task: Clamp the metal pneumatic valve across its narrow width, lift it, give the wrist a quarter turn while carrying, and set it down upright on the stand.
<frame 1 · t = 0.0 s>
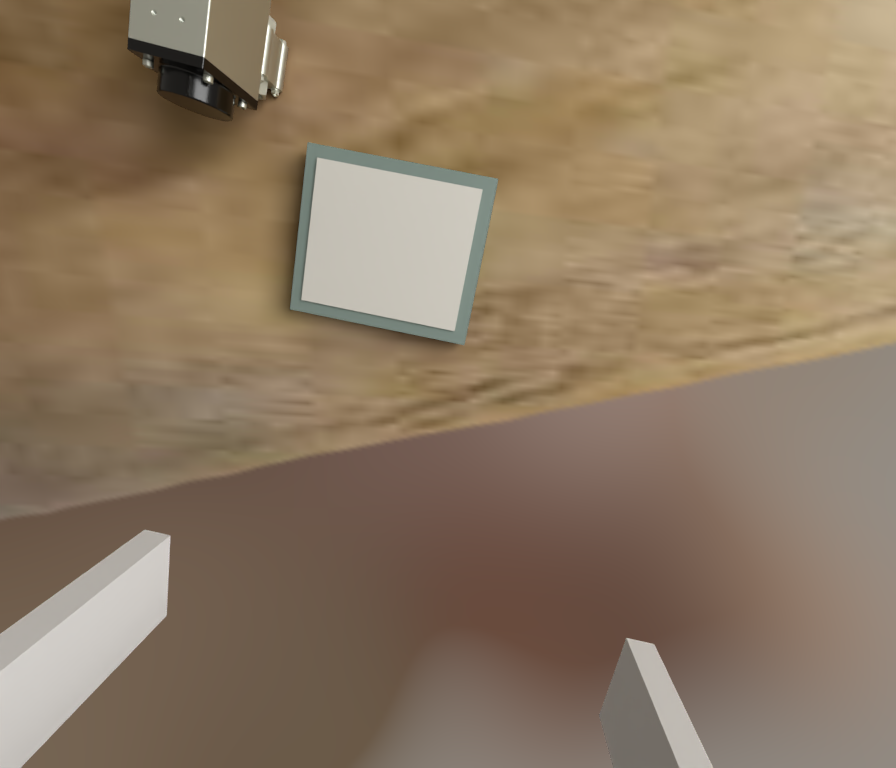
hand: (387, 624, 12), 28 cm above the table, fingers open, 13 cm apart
pneumatic valve: (263, 66, 35), on the table
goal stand: (394, 249, 37), on the table
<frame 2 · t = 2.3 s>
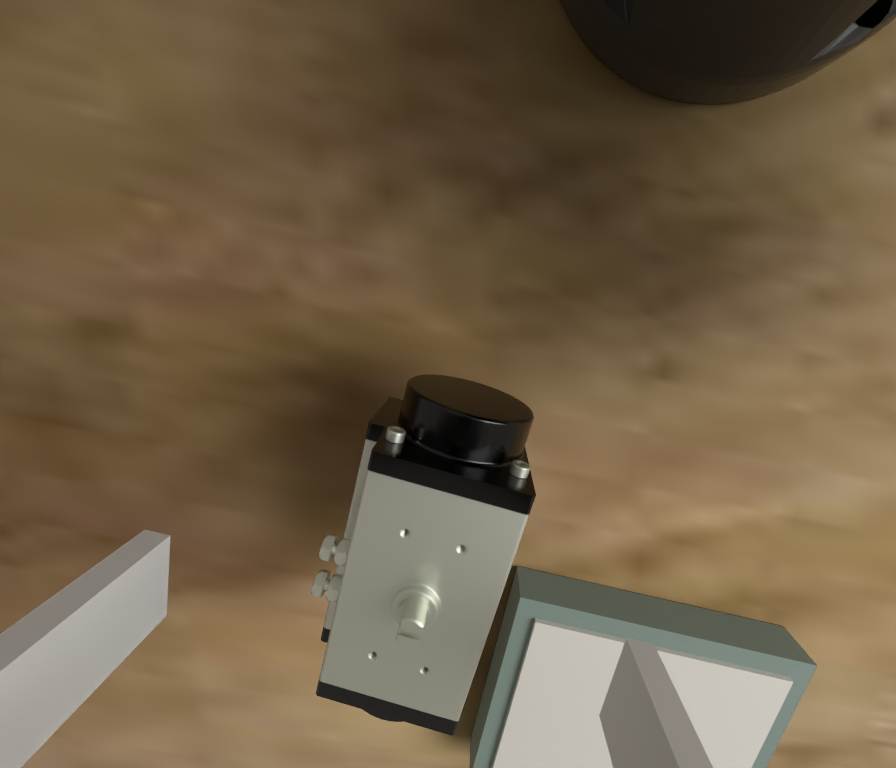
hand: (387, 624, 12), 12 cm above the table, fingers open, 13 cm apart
pneumatic valve: (441, 455, 24), on the table
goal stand: (615, 686, 26), on the table
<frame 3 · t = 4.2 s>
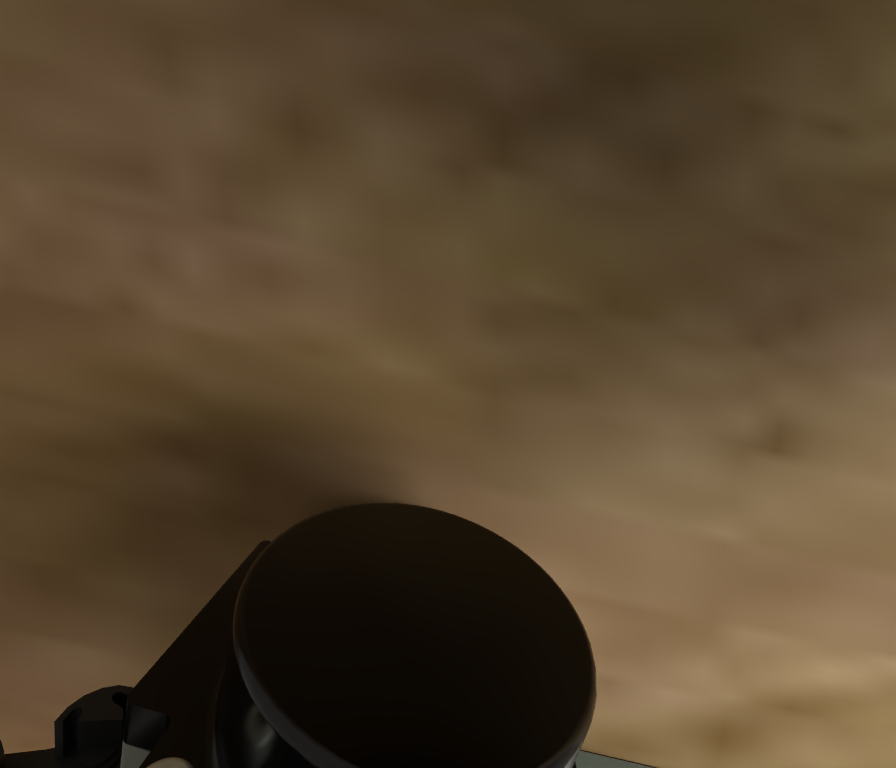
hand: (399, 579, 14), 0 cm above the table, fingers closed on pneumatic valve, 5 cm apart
pneumatic valve: (403, 569, 15), on the table, touching gripper
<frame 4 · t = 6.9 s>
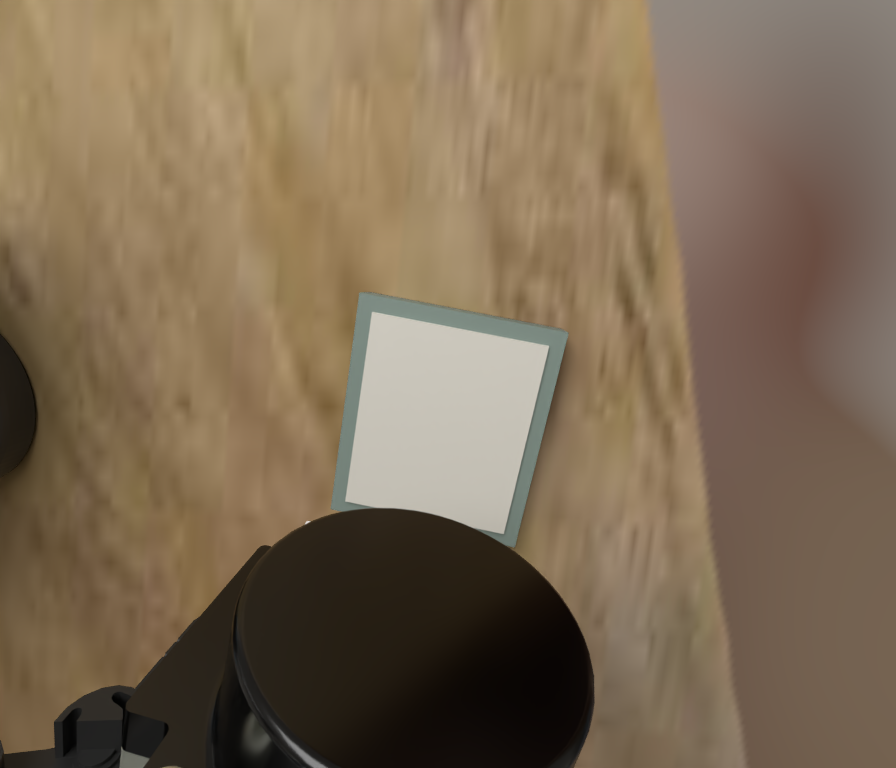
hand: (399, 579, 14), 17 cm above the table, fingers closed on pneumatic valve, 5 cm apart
pneumatic valve: (402, 572, 15), point 16 cm above the table, touching gripper
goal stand: (444, 415, 30), on the table
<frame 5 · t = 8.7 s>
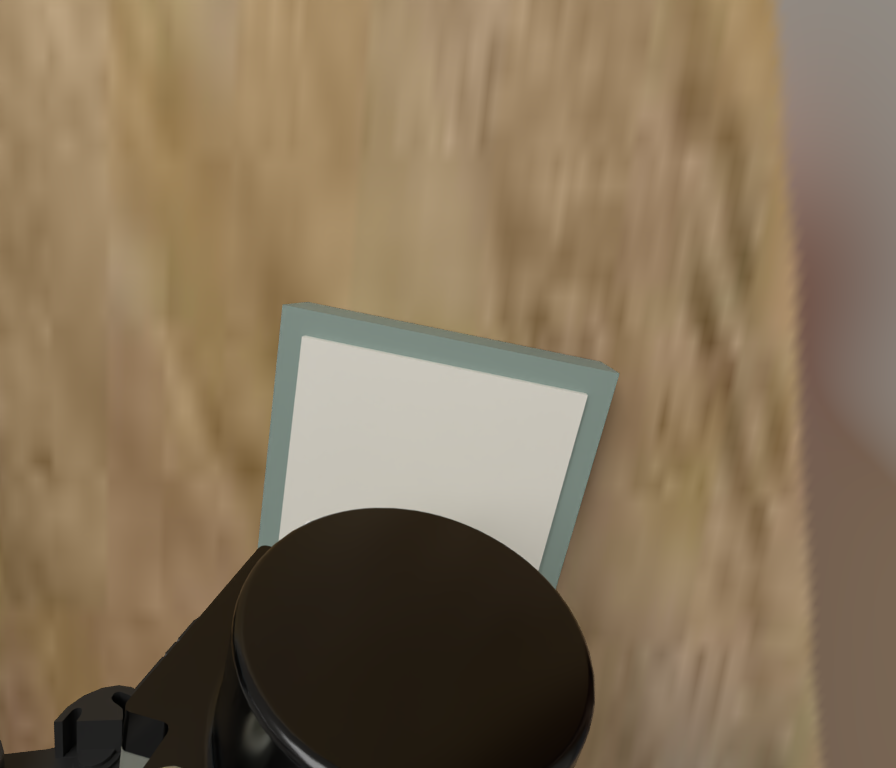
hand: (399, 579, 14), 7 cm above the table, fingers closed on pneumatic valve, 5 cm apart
pneumatic valve: (402, 572, 15), point 6 cm above the table, touching gripper
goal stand: (422, 486, 20), on the table
when the fingers open (4 cm above the table, at t = 9.9 s): pneumatic valve drops 1 cm, resting on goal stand.
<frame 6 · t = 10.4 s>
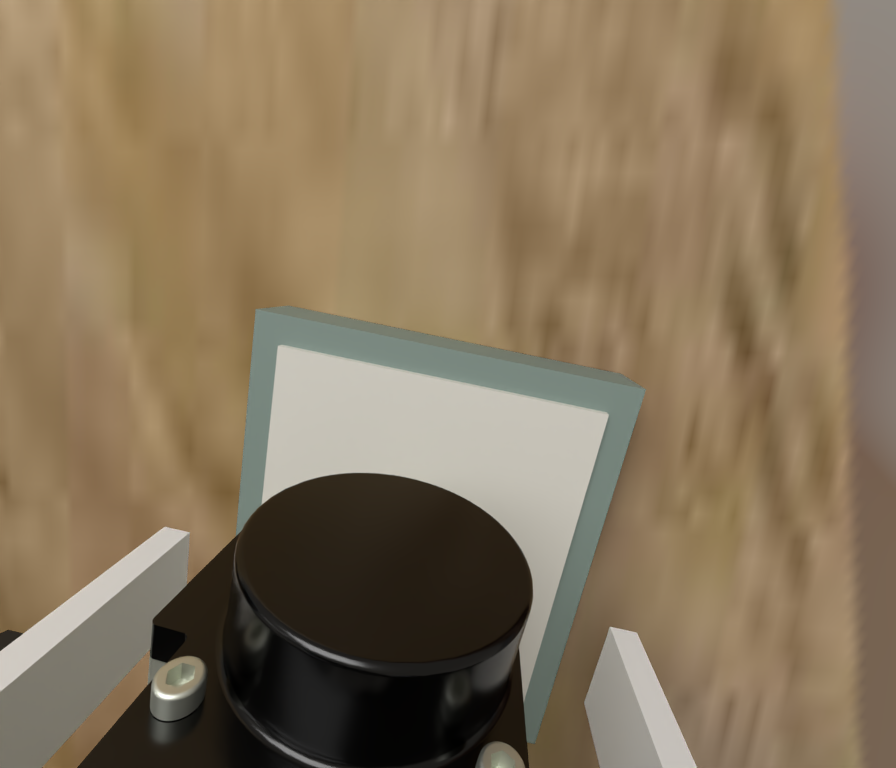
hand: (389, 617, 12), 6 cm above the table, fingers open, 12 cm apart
pneumatic valve: (398, 549, 16), point 3 cm above the table, touching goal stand
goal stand: (418, 512, 18), on the table
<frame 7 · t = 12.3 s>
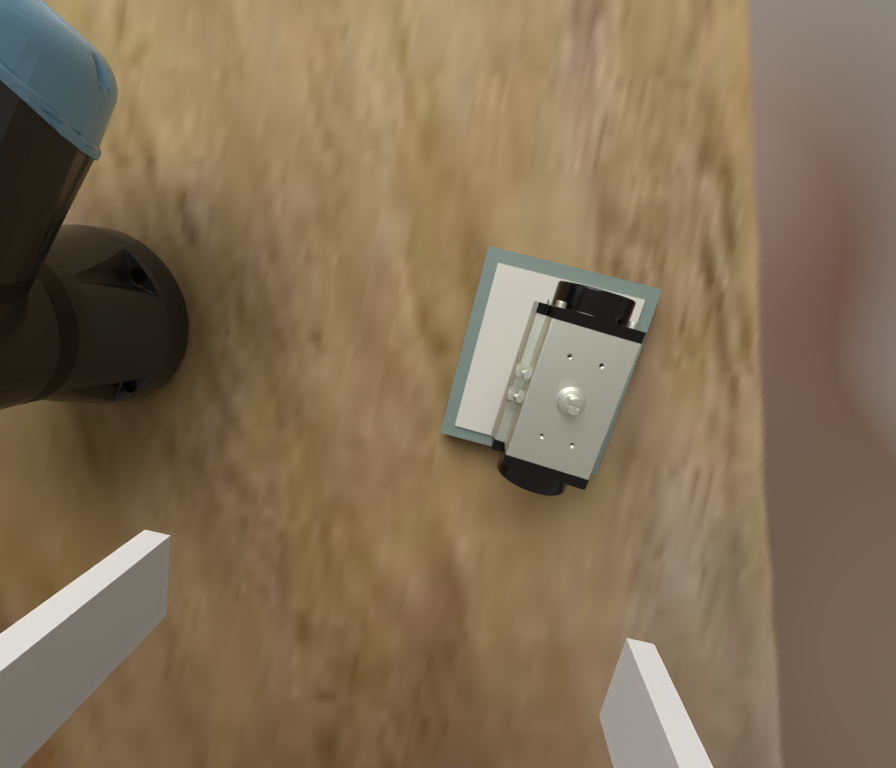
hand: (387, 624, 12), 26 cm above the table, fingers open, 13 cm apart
pneumatic valve: (540, 365, 33), point 3 cm above the table, touching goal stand
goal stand: (541, 360, 36), on the table
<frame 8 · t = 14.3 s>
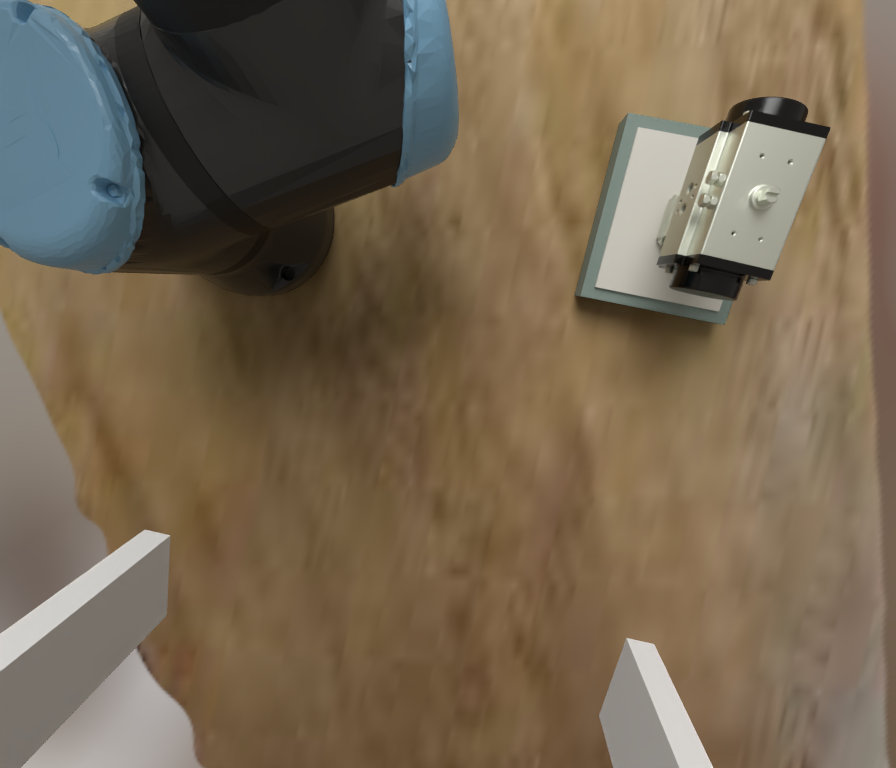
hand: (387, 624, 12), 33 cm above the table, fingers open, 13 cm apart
pneumatic valve: (674, 222, 37), point 3 cm above the table, touching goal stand
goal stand: (666, 227, 39), on the table
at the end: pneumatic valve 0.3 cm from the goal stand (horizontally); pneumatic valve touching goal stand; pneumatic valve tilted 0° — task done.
